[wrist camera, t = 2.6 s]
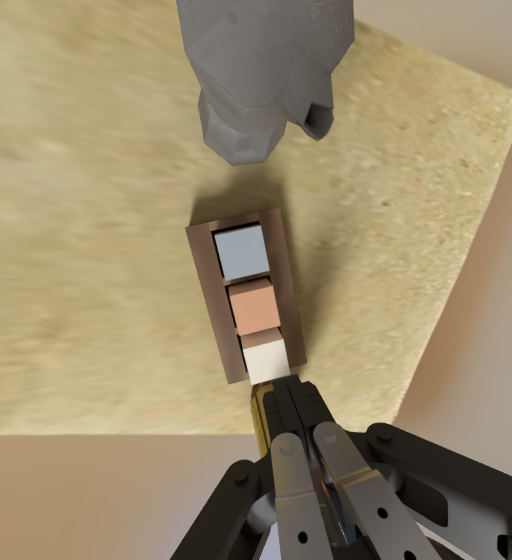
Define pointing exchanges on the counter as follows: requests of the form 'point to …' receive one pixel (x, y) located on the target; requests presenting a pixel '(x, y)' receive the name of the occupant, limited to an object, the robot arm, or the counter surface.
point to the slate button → (242, 252)
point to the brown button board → (216, 282)
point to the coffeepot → (264, 69)
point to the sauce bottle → (264, 441)
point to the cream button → (265, 355)
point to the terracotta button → (254, 306)
